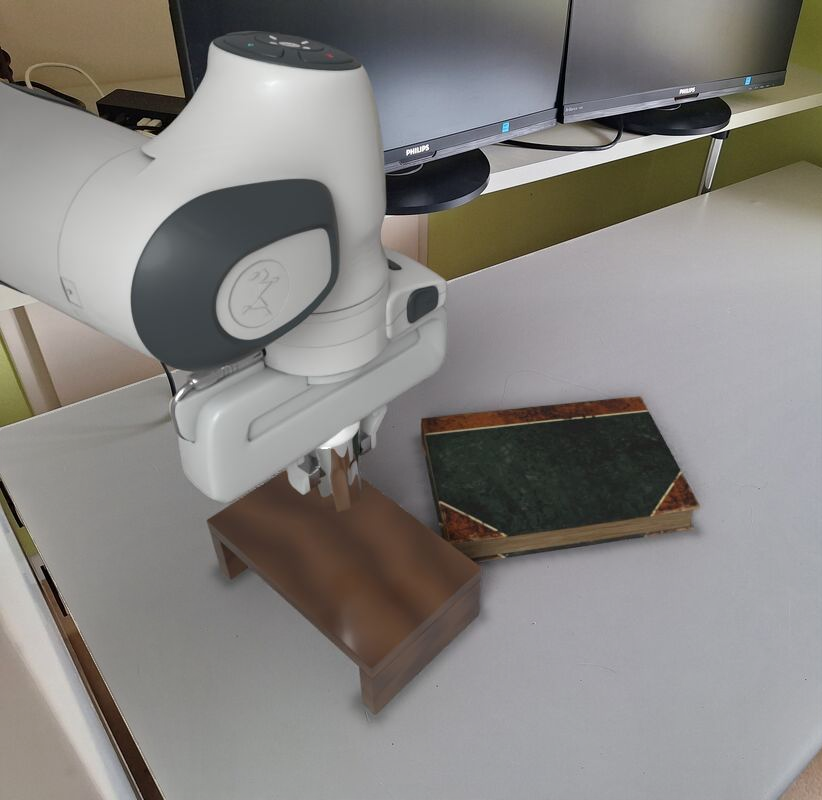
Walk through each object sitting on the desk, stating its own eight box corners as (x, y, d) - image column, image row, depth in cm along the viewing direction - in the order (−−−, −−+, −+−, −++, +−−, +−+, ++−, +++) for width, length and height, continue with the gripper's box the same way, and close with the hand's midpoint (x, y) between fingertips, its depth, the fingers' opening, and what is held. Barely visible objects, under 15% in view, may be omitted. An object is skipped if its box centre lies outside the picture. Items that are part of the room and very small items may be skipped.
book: (446, 568, 70) (693, 531, 76) (447, 543, 68) (702, 507, 74) (419, 438, 83) (634, 415, 89) (419, 413, 80) (639, 391, 86)
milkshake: (347, 459, 62) (331, 366, 55) (381, 501, 59) (369, 407, 52) (295, 485, 60) (271, 391, 53) (328, 529, 57) (308, 435, 50)
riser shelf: (375, 715, 59) (371, 668, 55) (220, 570, 68) (205, 519, 63) (478, 616, 67) (482, 567, 62) (327, 496, 75) (321, 446, 71)
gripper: (197, 416, 40) (239, 575, 49) (465, 273, 52) (458, 420, 61) (130, 362, 42) (182, 522, 51) (400, 238, 55) (403, 384, 64)
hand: (334, 465), depth 56 cm, fingers closed on milkshake, 4 cm apart
